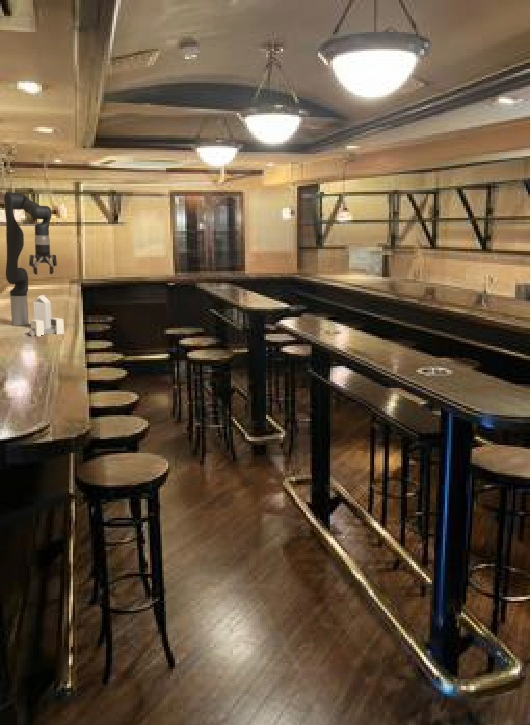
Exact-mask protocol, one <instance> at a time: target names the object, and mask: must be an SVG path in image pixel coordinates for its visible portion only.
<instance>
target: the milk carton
mask: <svg viewBox="0 0 531 725" xmlns="http://www.w3.org/2000/svg"><path fill="white" fill-rule="evenodd" d="M51 318H53V317H52V301H50V299H49V298H47V297H46V294H41V295H38V297H37V298H35V300H34V301H33V320H37V319H38V320H42V321H44V329H47V328H50V327H51Z"/></svg>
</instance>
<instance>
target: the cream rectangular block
mask: <svg viewBox="0 0 531 725" xmlns="http://www.w3.org/2000/svg"><path fill="white" fill-rule="evenodd" d="M30 330H35V335H36V336H35V337H37V336H38V337H42V336H41V335H44V321H42V320H38V319H37V320H34V319H30ZM44 336H45V335H44Z"/></svg>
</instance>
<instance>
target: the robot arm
mask: <svg viewBox="0 0 531 725" xmlns="http://www.w3.org/2000/svg"><path fill="white" fill-rule="evenodd" d="M3 199H4V200H3V201H4V204H3V205H4V213H5V225H6V226H5V227H6V229H5V230H6V232H5V233H6V234H5V236H6V264H5V265H6V266H5V279H6V281H7V283H8V284H10V285H14V287H13V288H12V289H10V291H9V298H10V312H11V313H10V314H11V315H10V316H11V325H12V326H16V327H17V326H19V327H20V326H29V324H30V322H29V305H28V304H29V303H28V291H29V274H28V272H27V270H26V269H25V268H24V267H18V266H19V257H20V255H21V253H22V251H23V249H24V245H25V244H24V243H25V242H24V241H25V238H24V235H25V234H24V231H23V229H22V228H21V227H20V224H19V223H18V222H17V219H16V218H15V215H14V213H15V212H14V210H23V211H24V212H25V213H27V214H28V215H30V216H31V218H32V219H34V220H42V222H41V223H36V224H35V225H34V249H35V250H34V252H35V253H34V254H29V262H28V263H29V264H28V265H29V266H30V267H32V269H33V270H32V271H33V272H32V273H33V274H34V275H35V276H36V275H38V266H39V265H40V264H48V266H49V275H53V273H54V267H57V266H58V263H57V255H56V254H51V239H50V223H51V220H52V214H53V213H52V208H51V207H50V206H48V205H40V204H39V203H37V202H35V201H32V200H31V199H30V198H29V197H27V196H26V195H25V194H24V193H22V192H11V191H6V192H5V193H4V198H3ZM34 259H35V261H34ZM51 259H52V261H51Z"/></svg>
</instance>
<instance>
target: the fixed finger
mask: <svg viewBox="0 0 531 725" xmlns="http://www.w3.org/2000/svg"><path fill="white" fill-rule="evenodd" d="M64 323H65V322H64V319H63V318H60V317H52V318H51V328H55V331H56V334H55V335H65V327H64V326H65V325H64Z"/></svg>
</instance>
